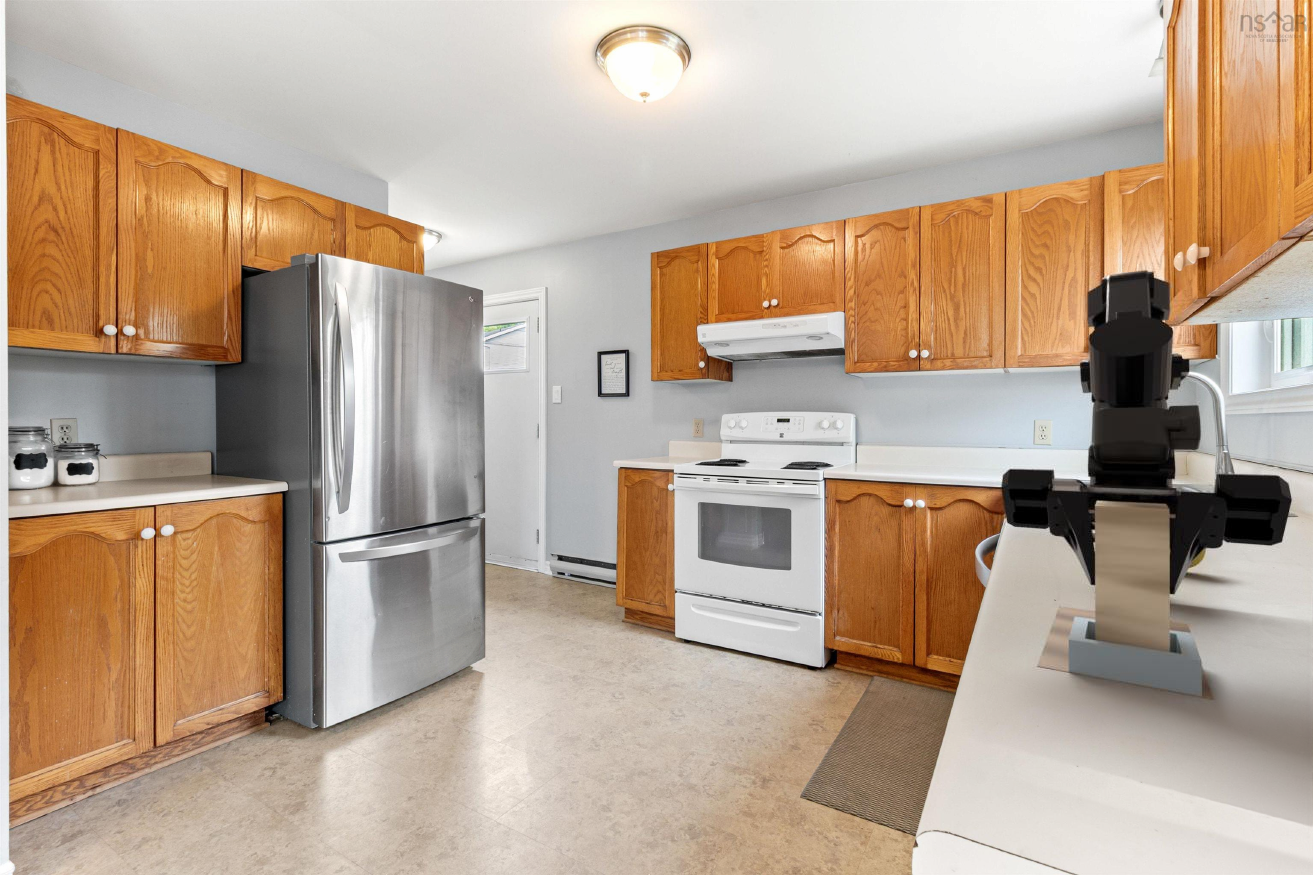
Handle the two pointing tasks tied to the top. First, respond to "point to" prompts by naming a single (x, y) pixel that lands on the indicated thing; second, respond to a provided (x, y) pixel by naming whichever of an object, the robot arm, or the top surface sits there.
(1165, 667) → the slate socket block
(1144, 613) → the beech pillar
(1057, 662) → the tan flat plate
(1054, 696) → the top surface
